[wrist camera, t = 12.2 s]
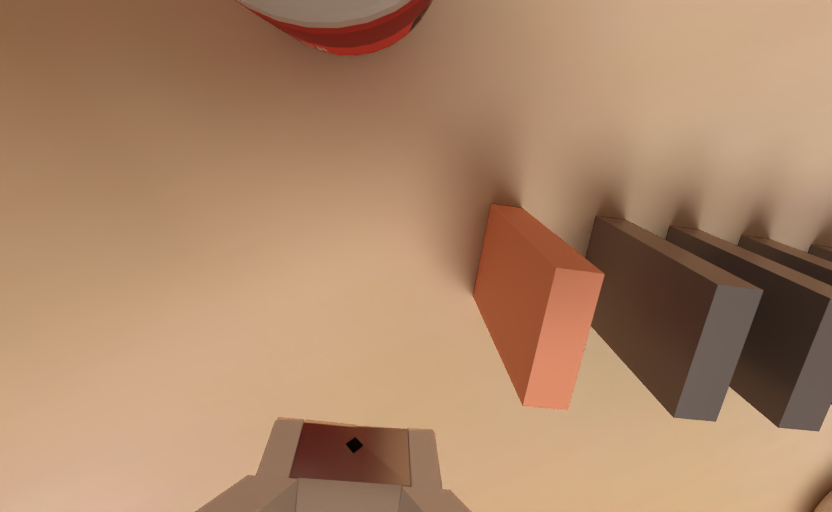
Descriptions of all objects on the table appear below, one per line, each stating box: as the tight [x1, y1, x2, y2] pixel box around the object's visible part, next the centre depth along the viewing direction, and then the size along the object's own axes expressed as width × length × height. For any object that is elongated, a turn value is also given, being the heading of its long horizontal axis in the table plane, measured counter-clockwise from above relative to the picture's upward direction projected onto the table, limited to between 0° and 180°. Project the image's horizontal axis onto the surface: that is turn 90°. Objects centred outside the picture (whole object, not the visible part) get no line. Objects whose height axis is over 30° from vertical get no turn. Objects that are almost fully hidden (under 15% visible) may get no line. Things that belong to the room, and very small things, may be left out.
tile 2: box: [666, 226, 832, 431], centre depth 22 cm, size 2×5×10 cm, turn 172°
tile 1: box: [585, 216, 764, 422], centre depth 22 cm, size 2×5×10 cm, turn 171°
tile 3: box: [738, 235, 832, 404], centre depth 23 cm, size 2×5×10 cm, turn 172°
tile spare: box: [473, 204, 605, 410], centre depth 22 cm, size 2×5×10 cm, turn 172°
